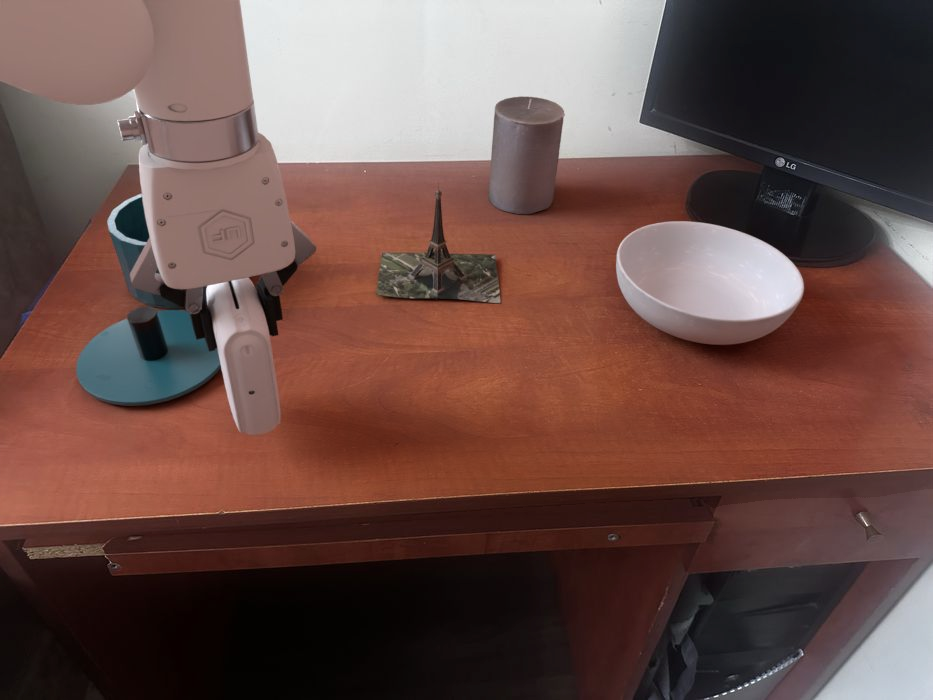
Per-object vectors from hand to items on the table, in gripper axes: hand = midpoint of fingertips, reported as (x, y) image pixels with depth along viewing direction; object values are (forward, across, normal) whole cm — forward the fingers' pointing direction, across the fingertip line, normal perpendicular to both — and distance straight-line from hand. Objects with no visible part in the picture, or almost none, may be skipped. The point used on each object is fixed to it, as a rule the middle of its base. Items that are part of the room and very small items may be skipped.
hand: (240, 332), depth 61 cm
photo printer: (+8, 0, 0) cm, 8 cm away
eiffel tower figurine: (+11, +27, +16) cm, 33 cm away
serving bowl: (+11, +52, -3) cm, 53 cm away
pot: (+12, -1, +29) cm, 31 cm away
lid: (+11, -7, +14) cm, 19 cm away
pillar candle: (+11, +47, +30) cm, 57 cm away
